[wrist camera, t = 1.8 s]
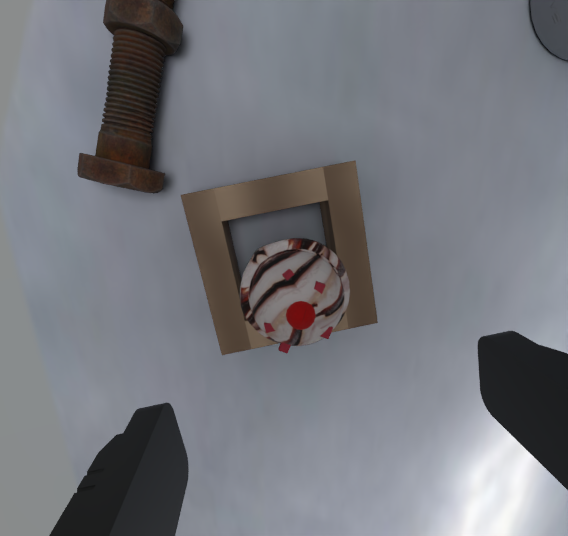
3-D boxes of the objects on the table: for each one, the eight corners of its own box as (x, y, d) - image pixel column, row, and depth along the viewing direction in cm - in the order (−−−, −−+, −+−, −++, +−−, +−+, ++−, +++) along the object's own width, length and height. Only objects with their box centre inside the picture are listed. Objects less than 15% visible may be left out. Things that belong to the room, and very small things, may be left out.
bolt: (179, -14, 26) (146, 189, 29) (104, -57, 23) (75, 173, 26) (209, -49, 21) (167, 197, 24) (120, -108, 18) (82, 180, 21)
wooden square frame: (341, 163, 28) (355, 160, 24) (362, 305, 31) (377, 322, 27) (191, 193, 27) (180, 194, 24) (226, 333, 30) (221, 355, 26)
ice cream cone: (261, 206, 28) (264, 231, 14) (326, 232, 29) (395, 280, 14) (237, 271, 29) (215, 359, 15) (300, 294, 30) (339, 398, 15)
